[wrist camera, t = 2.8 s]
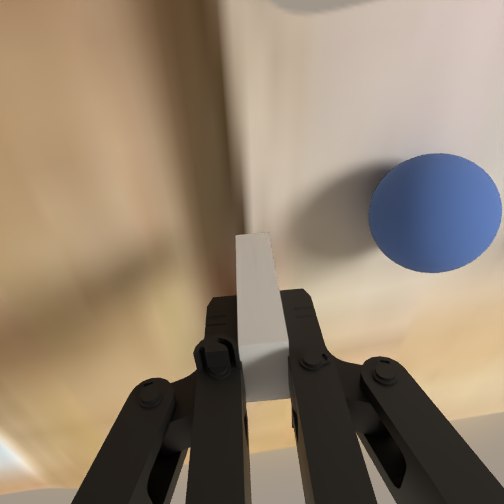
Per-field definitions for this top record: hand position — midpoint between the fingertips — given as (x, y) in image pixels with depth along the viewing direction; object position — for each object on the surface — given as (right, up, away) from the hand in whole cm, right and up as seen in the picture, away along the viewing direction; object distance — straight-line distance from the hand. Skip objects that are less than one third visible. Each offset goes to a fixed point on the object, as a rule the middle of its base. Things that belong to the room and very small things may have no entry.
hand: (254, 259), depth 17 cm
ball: (+9, +2, +2) cm, 9 cm away
